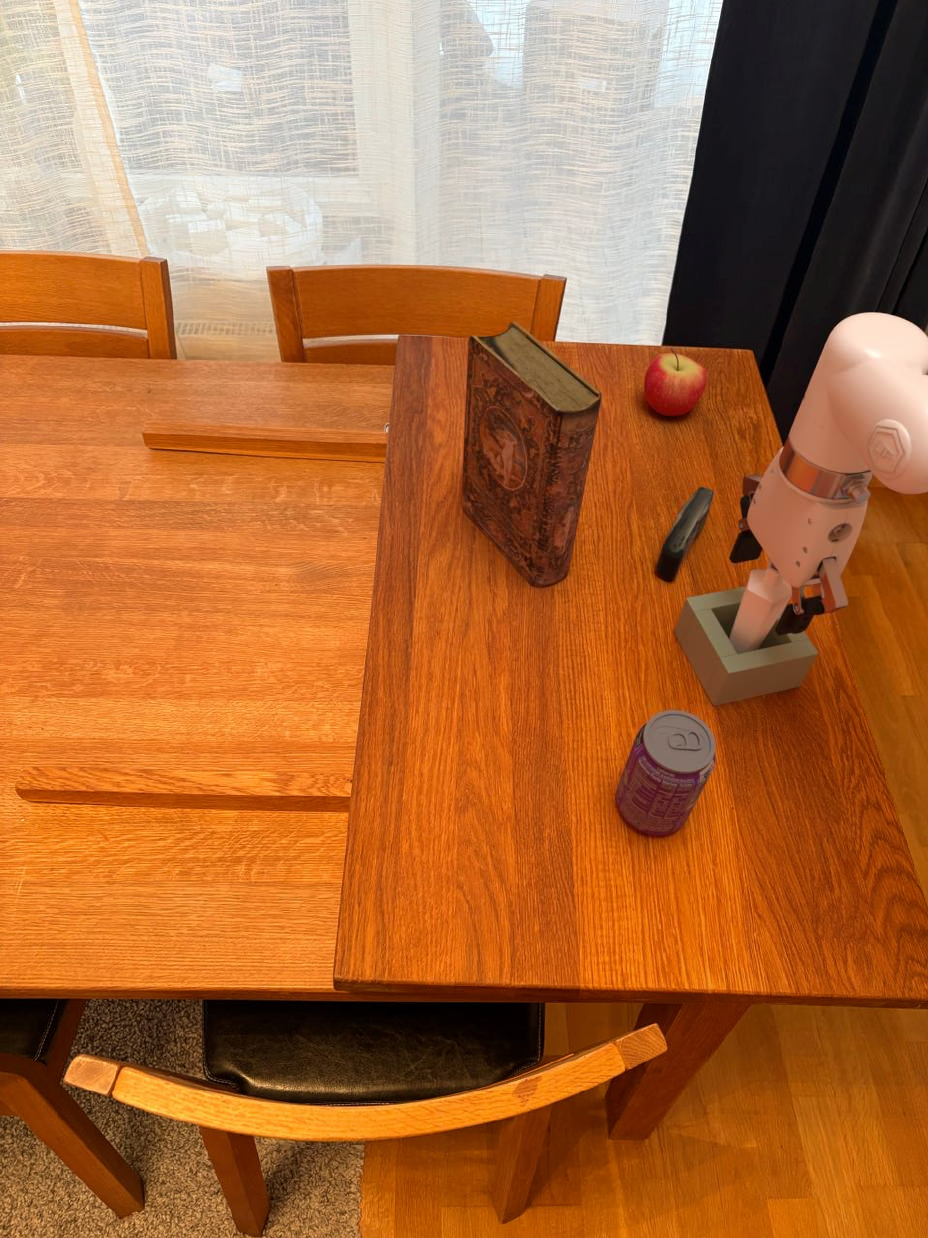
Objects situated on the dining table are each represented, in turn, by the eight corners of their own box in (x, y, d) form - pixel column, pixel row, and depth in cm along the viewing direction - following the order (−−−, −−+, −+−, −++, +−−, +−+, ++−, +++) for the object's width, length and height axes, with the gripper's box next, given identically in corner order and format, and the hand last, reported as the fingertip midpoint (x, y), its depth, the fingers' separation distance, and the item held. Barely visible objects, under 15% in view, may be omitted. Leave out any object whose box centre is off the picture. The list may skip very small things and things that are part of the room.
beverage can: (679, 770, 85) (710, 703, 76) (695, 837, 81) (730, 775, 71) (608, 773, 85) (631, 706, 75) (621, 840, 80) (647, 778, 71)
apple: (633, 391, 124) (646, 330, 117) (690, 390, 125) (707, 329, 117) (643, 427, 119) (658, 365, 111) (703, 426, 120) (722, 365, 112)
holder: (799, 687, 92) (819, 653, 87) (713, 706, 90) (728, 673, 85) (755, 615, 98) (771, 581, 93) (673, 632, 96) (685, 597, 92)
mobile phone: (684, 558, 97) (723, 478, 105) (658, 549, 98) (699, 470, 106) (674, 586, 101) (713, 507, 109) (650, 577, 102) (690, 499, 110)
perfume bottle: (717, 674, 93) (758, 582, 81) (712, 642, 95) (751, 549, 84) (759, 677, 93) (807, 586, 81) (753, 645, 95) (798, 552, 84)
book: (575, 574, 101) (610, 399, 82) (538, 592, 99) (564, 418, 80) (496, 493, 110) (511, 317, 90) (461, 508, 108) (468, 332, 88)
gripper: (925, 524, 68) (844, 653, 81) (814, 394, 78) (758, 528, 91) (842, 540, 66) (773, 669, 80) (740, 405, 77) (694, 540, 90)
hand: (765, 593), depth 85 cm, fingers open, 9 cm apart
